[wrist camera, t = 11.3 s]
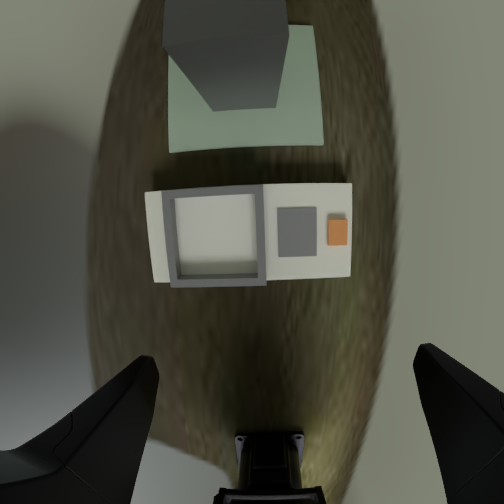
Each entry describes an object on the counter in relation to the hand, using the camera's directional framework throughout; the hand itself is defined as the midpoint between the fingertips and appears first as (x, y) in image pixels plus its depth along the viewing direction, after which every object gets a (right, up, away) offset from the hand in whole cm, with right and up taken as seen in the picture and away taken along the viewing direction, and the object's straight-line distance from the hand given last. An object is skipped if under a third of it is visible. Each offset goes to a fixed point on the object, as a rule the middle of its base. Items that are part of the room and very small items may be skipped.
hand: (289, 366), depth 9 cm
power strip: (-1, +5, +11) cm, 12 cm away
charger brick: (-2, +15, +8) cm, 17 cm away
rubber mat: (-2, +15, +9) cm, 17 cm away
